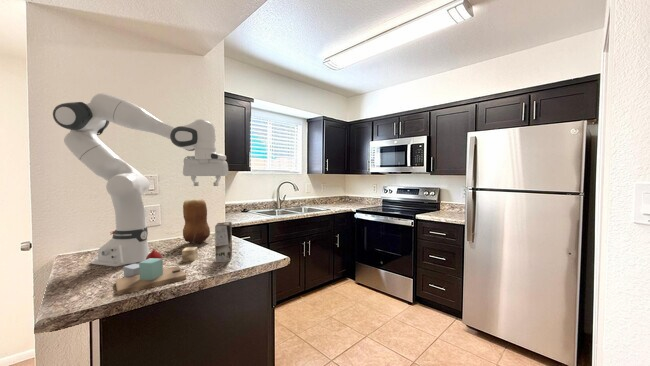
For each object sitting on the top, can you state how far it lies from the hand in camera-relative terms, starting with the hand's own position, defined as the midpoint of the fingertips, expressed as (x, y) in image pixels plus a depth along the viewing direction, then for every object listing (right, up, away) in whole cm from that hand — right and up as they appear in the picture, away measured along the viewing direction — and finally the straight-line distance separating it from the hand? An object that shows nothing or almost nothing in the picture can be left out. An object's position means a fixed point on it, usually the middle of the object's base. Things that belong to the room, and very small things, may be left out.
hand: (205, 186), depth 122 cm
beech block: (-6, -33, -2) cm, 34 cm away
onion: (-15, -34, -14) cm, 39 cm away
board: (-8, -34, -26) cm, 44 cm away
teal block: (-8, -33, -26) cm, 43 cm away
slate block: (-18, -34, -21) cm, 44 cm away
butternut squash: (-16, -32, +25) cm, 44 cm away
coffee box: (+9, -33, -1) cm, 35 cm away
